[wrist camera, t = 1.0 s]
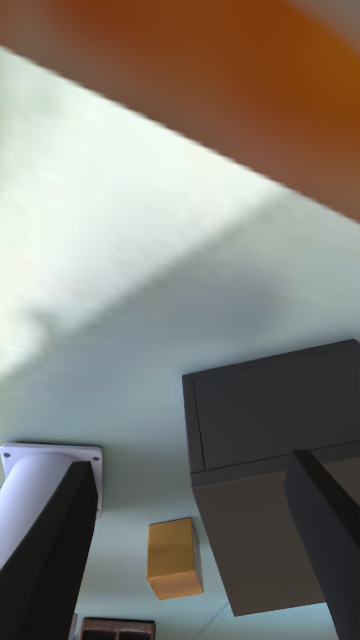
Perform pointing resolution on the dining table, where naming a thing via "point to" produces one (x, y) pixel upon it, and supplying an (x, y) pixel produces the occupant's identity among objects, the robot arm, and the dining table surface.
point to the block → (174, 559)
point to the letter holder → (116, 630)
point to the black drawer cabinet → (269, 463)
